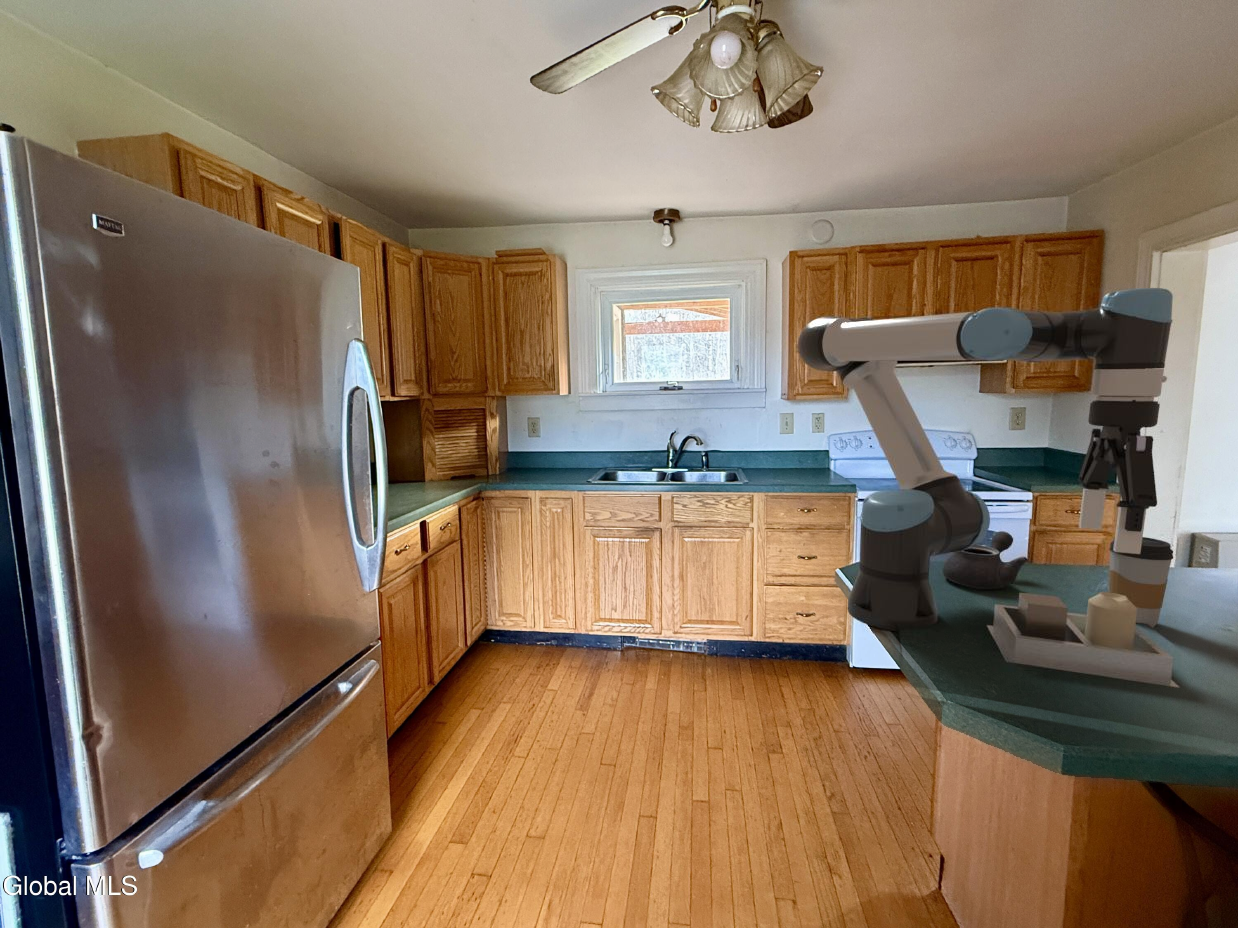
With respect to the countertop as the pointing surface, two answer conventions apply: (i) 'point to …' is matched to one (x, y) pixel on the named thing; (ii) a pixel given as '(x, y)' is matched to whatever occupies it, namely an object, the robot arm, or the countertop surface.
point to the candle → (1111, 621)
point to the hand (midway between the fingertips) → (1106, 539)
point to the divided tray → (1081, 651)
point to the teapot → (984, 565)
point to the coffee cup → (1142, 577)
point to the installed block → (1042, 616)
